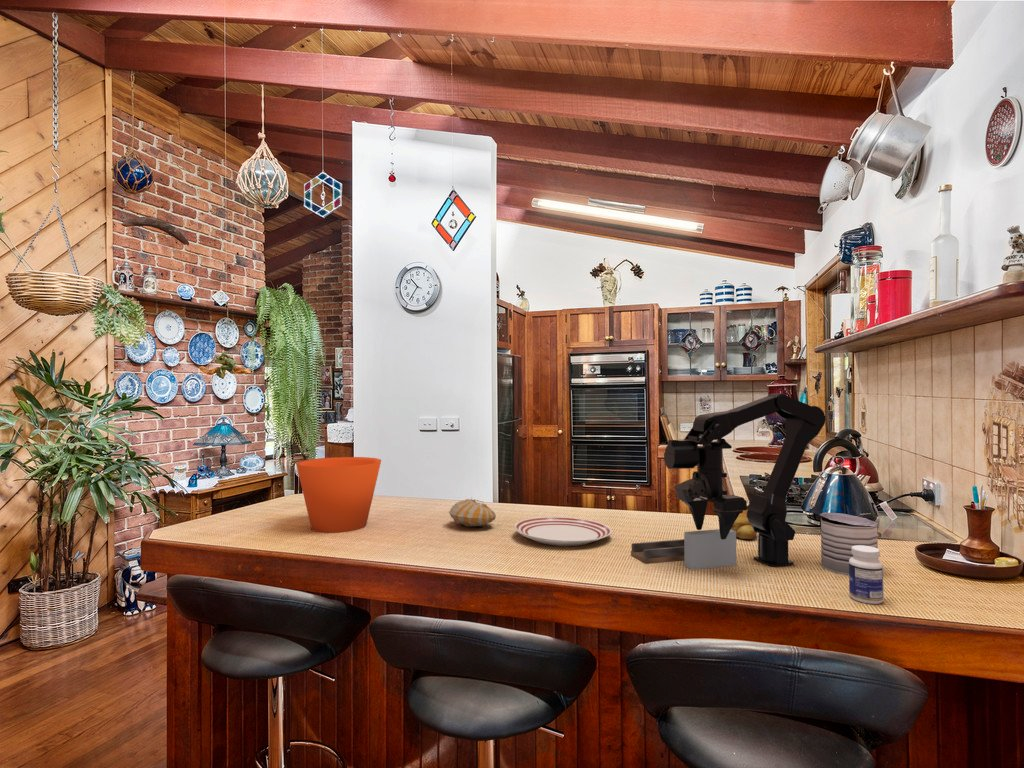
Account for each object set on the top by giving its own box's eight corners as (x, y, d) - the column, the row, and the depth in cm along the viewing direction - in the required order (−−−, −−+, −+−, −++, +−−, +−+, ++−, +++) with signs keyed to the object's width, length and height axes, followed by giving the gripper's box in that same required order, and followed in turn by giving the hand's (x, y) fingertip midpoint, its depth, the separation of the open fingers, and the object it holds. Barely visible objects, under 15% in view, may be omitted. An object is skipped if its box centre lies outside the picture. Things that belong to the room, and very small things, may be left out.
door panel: (728, 561, 133) (727, 528, 133) (736, 565, 130) (736, 531, 130) (684, 566, 130) (684, 531, 130) (692, 570, 127) (691, 535, 127)
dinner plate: (608, 527, 168) (608, 516, 168) (616, 553, 141) (616, 539, 141) (518, 525, 171) (518, 514, 171) (509, 550, 144) (509, 537, 144)
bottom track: (693, 549, 143) (693, 538, 143) (711, 557, 136) (710, 545, 136) (631, 555, 138) (630, 543, 138) (645, 563, 131) (645, 550, 131)
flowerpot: (298, 520, 177) (298, 458, 178) (378, 515, 185) (378, 455, 185) (292, 539, 154) (292, 468, 154) (384, 533, 161) (384, 464, 161)
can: (825, 558, 135) (825, 509, 136) (881, 567, 128) (880, 515, 128) (816, 570, 126) (815, 517, 127) (875, 580, 119) (874, 524, 120)
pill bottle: (851, 591, 112) (851, 542, 113) (885, 598, 109) (884, 547, 109) (847, 600, 108) (846, 548, 108) (882, 607, 104) (881, 554, 105)
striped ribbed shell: (461, 517, 184) (505, 521, 181) (440, 528, 163) (489, 533, 160) (462, 493, 185) (506, 497, 182) (442, 501, 164) (491, 506, 161)
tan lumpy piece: (763, 542, 150) (763, 513, 150) (725, 540, 152) (725, 511, 152) (752, 531, 163) (752, 503, 163) (717, 529, 165) (717, 502, 165)
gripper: (658, 464, 137) (659, 527, 137) (704, 474, 119) (705, 547, 119) (697, 462, 140) (698, 524, 140) (748, 472, 122) (749, 543, 122)
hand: (710, 534), depth 130 cm, fingers open, 9 cm apart
